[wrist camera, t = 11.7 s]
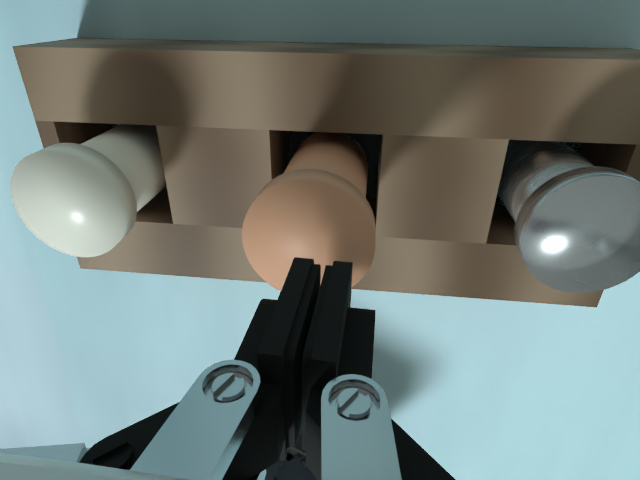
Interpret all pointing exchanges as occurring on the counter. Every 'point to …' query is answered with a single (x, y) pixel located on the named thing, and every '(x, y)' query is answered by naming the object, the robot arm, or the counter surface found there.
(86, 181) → the plug ivory
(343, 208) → the plug terracotta
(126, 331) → the counter surface
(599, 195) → the plug grey
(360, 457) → the robot arm
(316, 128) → the socket board
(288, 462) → the electrical switch
